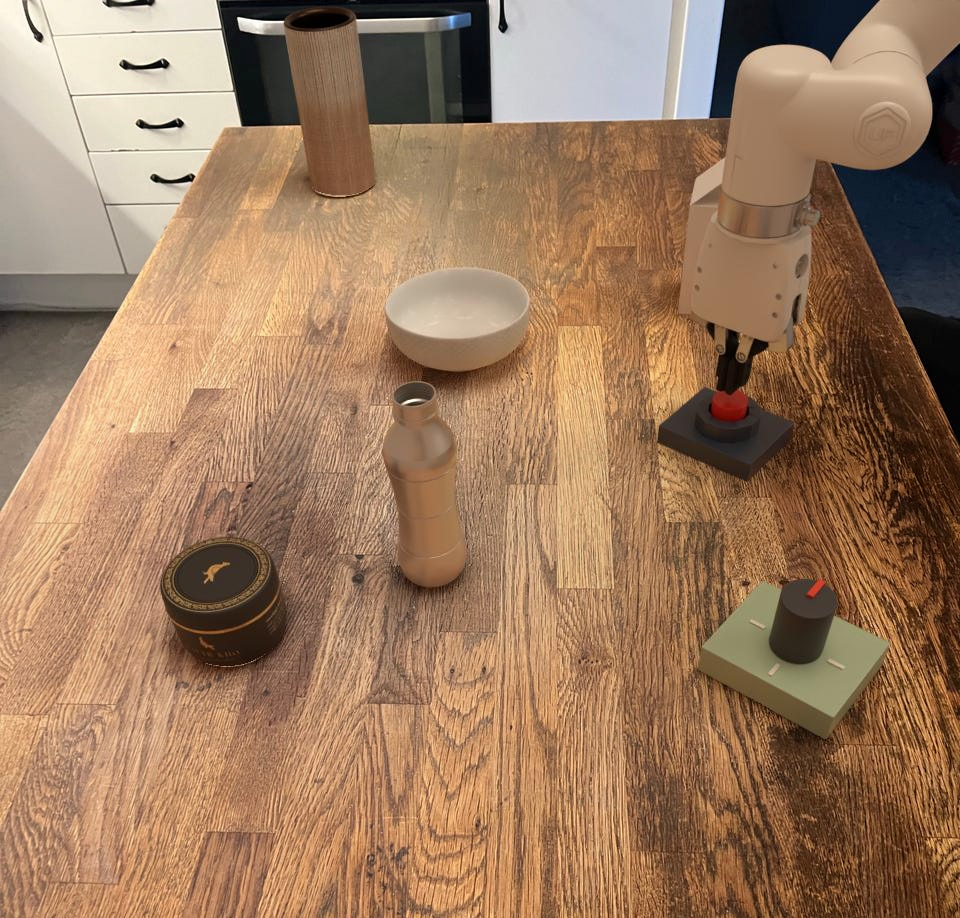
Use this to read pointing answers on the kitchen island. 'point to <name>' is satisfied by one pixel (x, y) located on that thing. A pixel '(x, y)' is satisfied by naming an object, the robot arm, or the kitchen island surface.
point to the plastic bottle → (424, 487)
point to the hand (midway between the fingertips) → (730, 386)
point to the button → (729, 406)
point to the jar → (225, 600)
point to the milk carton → (699, 227)
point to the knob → (802, 620)
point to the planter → (331, 99)
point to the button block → (725, 436)
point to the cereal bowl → (458, 317)
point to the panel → (792, 665)
